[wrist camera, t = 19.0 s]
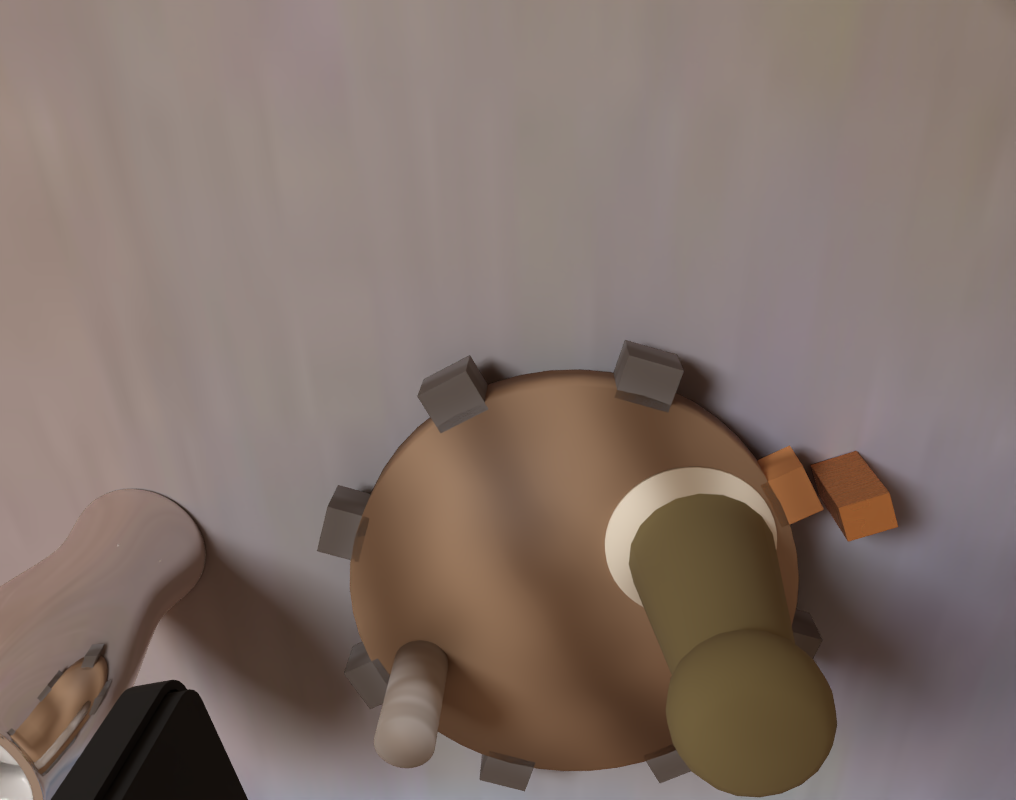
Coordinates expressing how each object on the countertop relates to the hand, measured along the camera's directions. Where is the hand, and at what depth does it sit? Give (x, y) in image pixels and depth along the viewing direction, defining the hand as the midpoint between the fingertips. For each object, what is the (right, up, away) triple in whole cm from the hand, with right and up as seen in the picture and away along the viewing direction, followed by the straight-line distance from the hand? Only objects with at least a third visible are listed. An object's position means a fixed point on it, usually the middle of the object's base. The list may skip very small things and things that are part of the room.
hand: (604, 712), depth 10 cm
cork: (+7, -3, +27) cm, 28 cm away
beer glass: (-18, -3, +32) cm, 37 cm away
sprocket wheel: (+2, -4, +30) cm, 30 cm away
